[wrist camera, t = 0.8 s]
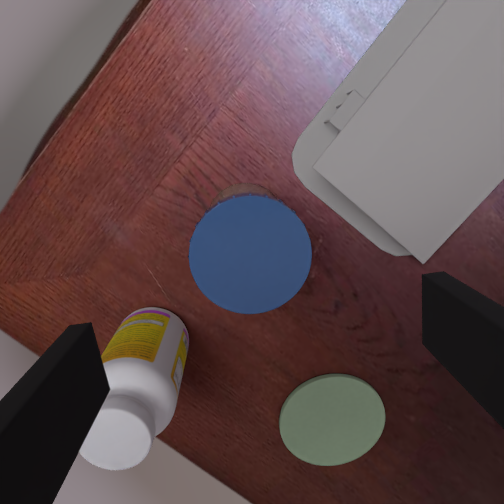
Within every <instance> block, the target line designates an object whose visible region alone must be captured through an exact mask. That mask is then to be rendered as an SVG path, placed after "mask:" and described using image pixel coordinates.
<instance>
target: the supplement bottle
mask: <svg viewBox="0 0 504 504" xmlns="http://www.w3.org/2000/svg"><path fill="white" fill-rule="evenodd" d="M188 346H189V336H188V331H187V329H186V327H185V325H184V323H183V322H182V321H181V319H180V318H179V317H178V316H176V315H175V314H173V313H172V312H170V311H168V310H165V309H162V308H156V307H148V308H143V309H139V310H137V311H135V312H133V313H131V314H130V315H129V316H127V317H126V318H125V319H124V320H123V322H122V323H121V325H120V326H119V328H118V329H117V331H116V333H115V334H114V336H113V338H112V339H111V341H110V342H109V344H108V346H107V347H106V349H105V351H104V352H103V354H102V356H101V358H102V362H103V365H104V369H105V372H106V376H107V379H108V383H109V386H110V391H109V393H108V395H107V397H106V399H105V401H104V403H103V405H102V407H101V409H100V411H99V413H98V415H97V417H96V419H95V421H94V423H93V425H92V427H91V429H90V431H89V433H88V435H87V437H86V439H85V441H84V443H83V444H82V446H81V448H80V450H79V452H80V454H81V455H82V456H83V457H84V458H85V459H86V460H87V461H88V462H89V463H91V464H93V465H95V466H97V467H100V468H103V469H107V470H124V469H128V468H131V467H133V466H135V465H137V464H139V463H140V462H141V461H142V460H144V458H145V457H146V456H147V455H148V453H149V451H150V448H151V446H152V442H153V439H154V437H155V436H157V435H158V434H159V433H161V432H162V431H163V430H164V429H165V428H166V427H167V425H168V424H169V423H170V421H171V419H172V417H173V415H174V412H175V408H176V404H177V399H178V394H179V389H180V385H181V380H182V376H183V371H184V366H185V361H186V357H187V352H188Z"/></svg>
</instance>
